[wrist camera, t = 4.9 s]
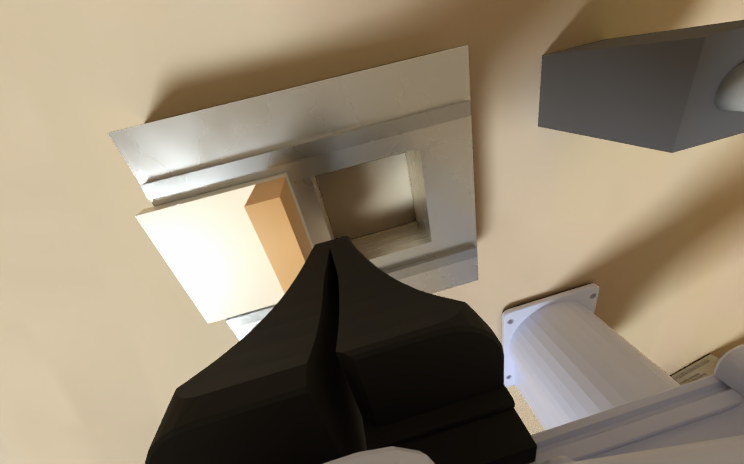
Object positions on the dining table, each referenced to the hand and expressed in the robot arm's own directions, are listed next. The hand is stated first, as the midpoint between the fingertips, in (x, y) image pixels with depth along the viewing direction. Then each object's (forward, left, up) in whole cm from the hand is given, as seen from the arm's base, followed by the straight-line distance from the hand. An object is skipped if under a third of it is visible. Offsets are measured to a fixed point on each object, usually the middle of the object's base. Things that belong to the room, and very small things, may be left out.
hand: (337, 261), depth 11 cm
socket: (0, 0, -6) cm, 6 cm away
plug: (+3, -14, -6) cm, 16 cm away
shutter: (0, +4, -3) cm, 5 cm away
